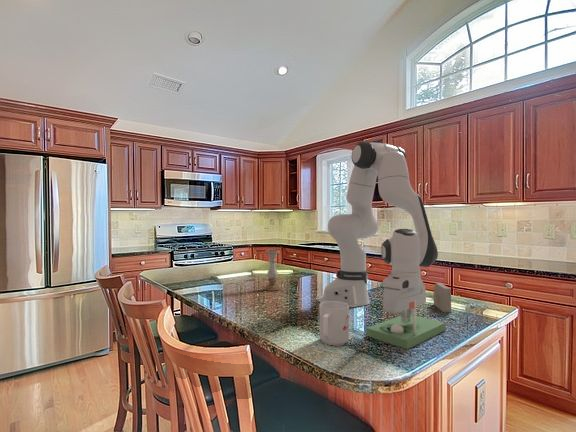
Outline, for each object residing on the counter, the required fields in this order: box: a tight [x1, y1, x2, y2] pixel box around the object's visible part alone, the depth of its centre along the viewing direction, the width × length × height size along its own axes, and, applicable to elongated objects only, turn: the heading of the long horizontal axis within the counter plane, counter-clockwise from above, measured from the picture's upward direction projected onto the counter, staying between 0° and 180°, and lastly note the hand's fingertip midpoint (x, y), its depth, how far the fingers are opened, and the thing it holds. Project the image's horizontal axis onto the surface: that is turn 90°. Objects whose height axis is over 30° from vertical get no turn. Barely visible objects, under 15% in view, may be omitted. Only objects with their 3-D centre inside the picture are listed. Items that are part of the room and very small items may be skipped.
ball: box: [391, 324, 404, 333], centre depth 103 cm, size 4×4×4 cm
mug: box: [318, 301, 350, 347], centre depth 98 cm, size 12×9×11 cm
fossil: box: [432, 282, 452, 313], centre depth 136 cm, size 12×4×10 cm, turn 173°
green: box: [366, 301, 446, 350], centre depth 107 cm, size 24×14×12 cm, turn 130°
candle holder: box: [263, 249, 282, 292], centre depth 172 cm, size 9×9×20 cm
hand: (406, 322), depth 106 cm, fingers closed
